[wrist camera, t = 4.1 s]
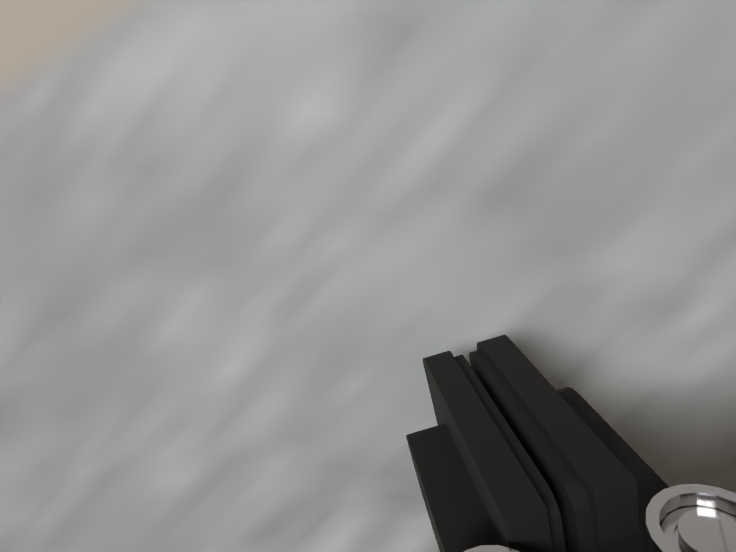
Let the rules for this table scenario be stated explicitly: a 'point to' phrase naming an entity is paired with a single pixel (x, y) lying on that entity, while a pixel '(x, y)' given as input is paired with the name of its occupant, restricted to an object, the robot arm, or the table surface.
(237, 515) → the table surface
